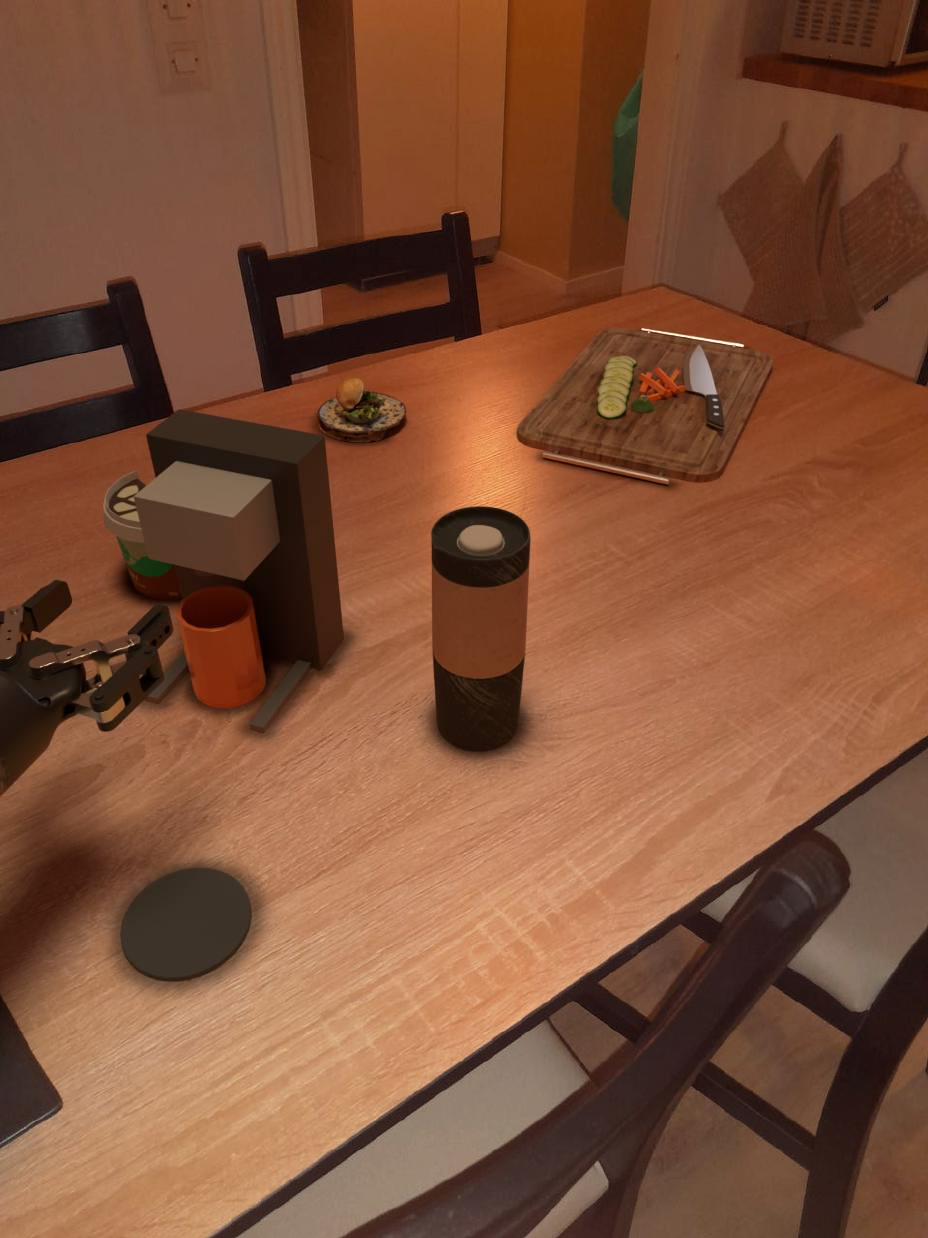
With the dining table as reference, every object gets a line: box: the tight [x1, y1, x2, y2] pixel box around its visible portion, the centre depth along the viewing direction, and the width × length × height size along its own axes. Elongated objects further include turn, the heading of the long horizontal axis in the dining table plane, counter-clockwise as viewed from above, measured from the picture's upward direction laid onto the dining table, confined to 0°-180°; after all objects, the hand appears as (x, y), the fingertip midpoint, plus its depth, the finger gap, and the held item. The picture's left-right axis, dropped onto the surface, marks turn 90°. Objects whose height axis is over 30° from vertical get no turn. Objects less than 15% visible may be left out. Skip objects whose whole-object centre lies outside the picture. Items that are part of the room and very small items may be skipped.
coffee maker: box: [134, 408, 345, 734], centre depth 83 cm, size 14×14×22 cm
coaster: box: [119, 867, 252, 982], centre depth 69 cm, size 9×9×1 cm
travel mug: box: [430, 505, 532, 752], centre depth 79 cm, size 8×8×20 cm
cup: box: [176, 585, 267, 709], centre depth 86 cm, size 6×6×9 cm
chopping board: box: [516, 327, 774, 486], centre depth 134 cm, size 45×27×3 cm, turn 156°
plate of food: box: [316, 371, 407, 443], centre depth 127 cm, size 12×12×8 cm
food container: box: [102, 469, 183, 601], centre depth 97 cm, size 12×6×10 cm, turn 42°
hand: (114, 602), depth 69 cm, fingers open, 8 cm apart
